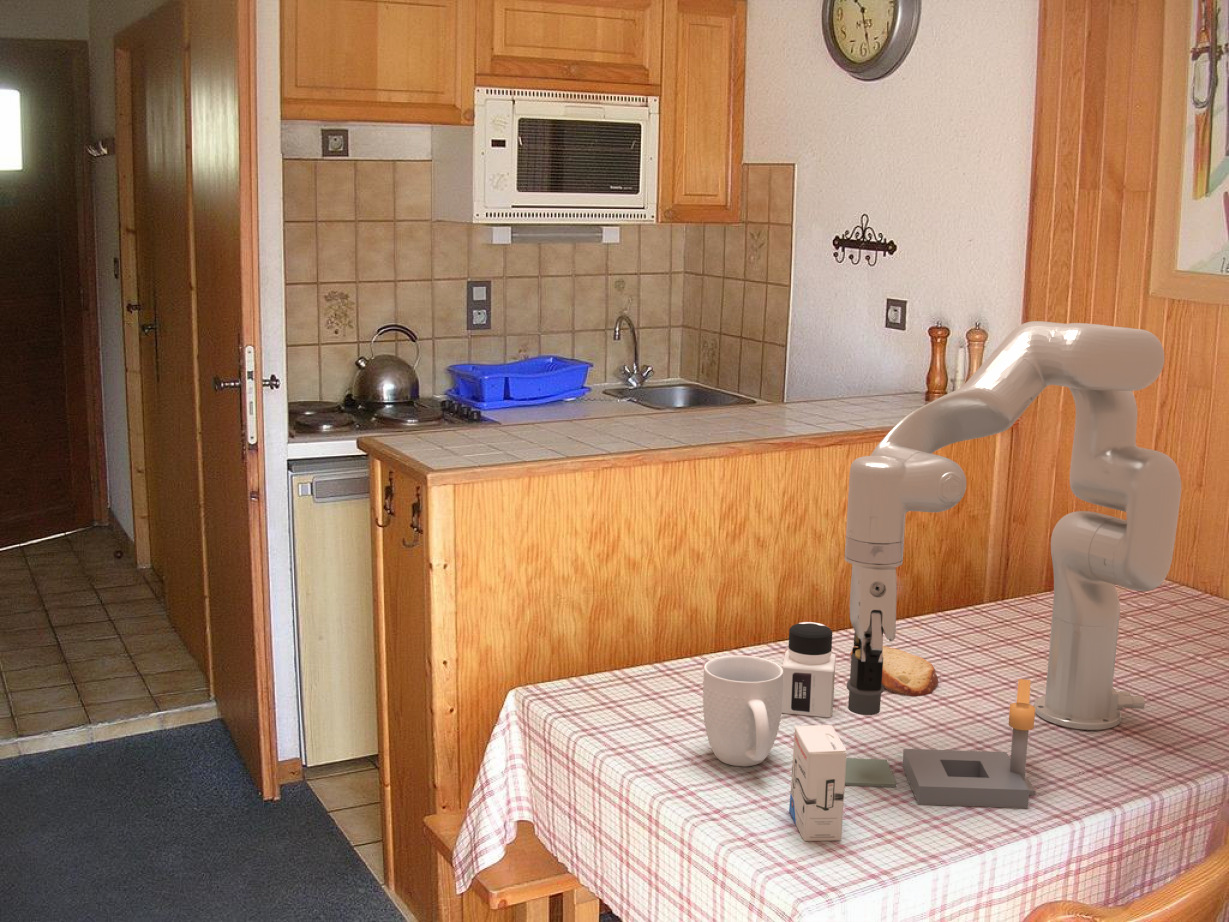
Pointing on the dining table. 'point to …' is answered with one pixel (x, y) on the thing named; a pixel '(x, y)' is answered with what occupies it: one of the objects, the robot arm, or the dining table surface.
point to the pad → (868, 773)
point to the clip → (1022, 708)
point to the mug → (742, 707)
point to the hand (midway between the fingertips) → (865, 681)
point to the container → (809, 671)
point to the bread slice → (907, 673)
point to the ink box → (818, 782)
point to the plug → (862, 692)
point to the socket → (970, 776)
